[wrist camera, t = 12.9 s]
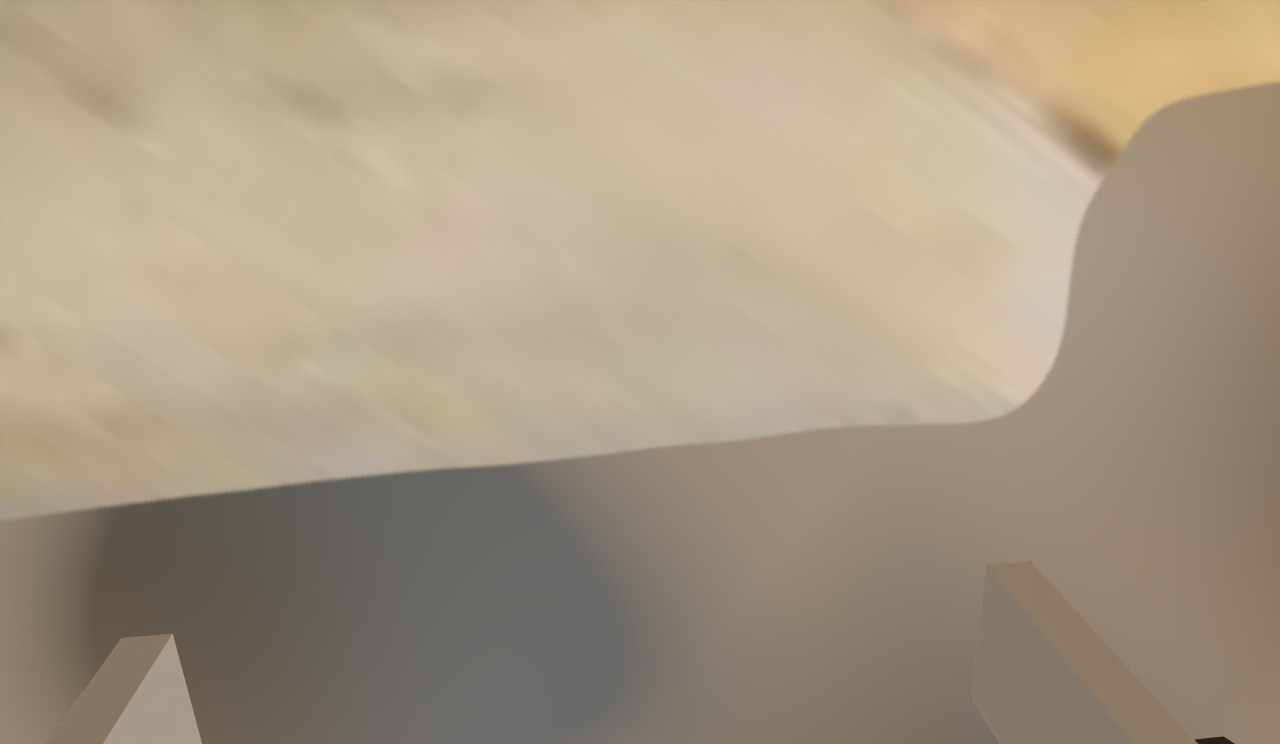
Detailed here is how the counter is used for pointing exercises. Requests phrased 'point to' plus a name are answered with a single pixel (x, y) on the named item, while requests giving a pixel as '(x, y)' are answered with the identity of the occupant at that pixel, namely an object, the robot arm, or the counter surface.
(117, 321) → the counter surface
